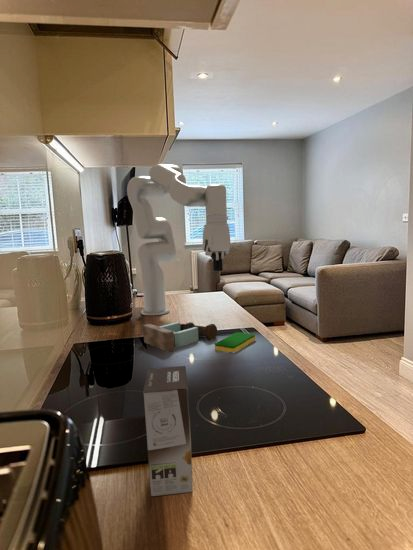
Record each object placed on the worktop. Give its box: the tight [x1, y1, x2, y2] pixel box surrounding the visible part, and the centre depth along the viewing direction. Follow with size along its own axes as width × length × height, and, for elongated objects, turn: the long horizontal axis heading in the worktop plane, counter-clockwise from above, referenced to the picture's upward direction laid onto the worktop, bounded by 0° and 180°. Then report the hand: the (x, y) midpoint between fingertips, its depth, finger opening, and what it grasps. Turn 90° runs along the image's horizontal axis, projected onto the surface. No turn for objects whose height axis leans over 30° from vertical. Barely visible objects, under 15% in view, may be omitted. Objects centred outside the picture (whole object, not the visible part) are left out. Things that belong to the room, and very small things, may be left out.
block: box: [159, 321, 200, 349], centre depth 127 cm, size 12×10×4 cm
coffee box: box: [142, 365, 193, 497], centre depth 58 cm, size 9×6×16 cm
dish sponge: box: [214, 331, 256, 353], centre depth 120 cm, size 7×14×2 cm, turn 145°
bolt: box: [180, 322, 218, 341], centre depth 131 cm, size 6×5×15 cm
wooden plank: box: [142, 323, 176, 353], centre depth 122 cm, size 14×2×6 cm, turn 41°
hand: (218, 270), depth 138 cm, fingers closed
